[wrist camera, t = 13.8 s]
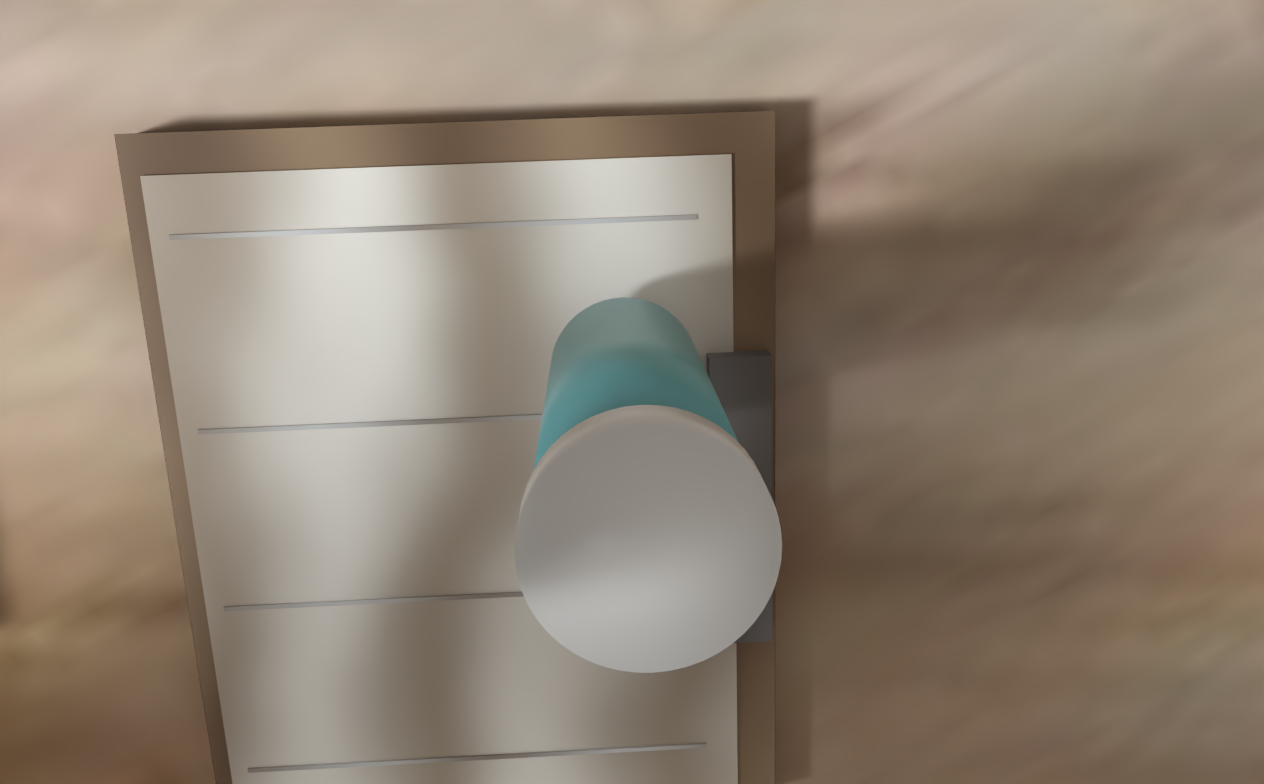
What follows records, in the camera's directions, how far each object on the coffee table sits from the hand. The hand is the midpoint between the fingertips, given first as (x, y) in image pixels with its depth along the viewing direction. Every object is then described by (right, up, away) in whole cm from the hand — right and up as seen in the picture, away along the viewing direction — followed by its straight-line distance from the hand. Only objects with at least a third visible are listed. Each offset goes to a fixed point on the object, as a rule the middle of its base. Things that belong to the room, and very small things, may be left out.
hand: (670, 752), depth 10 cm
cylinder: (-1, +4, +17) cm, 17 cm away
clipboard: (-5, +1, +19) cm, 19 cm away
